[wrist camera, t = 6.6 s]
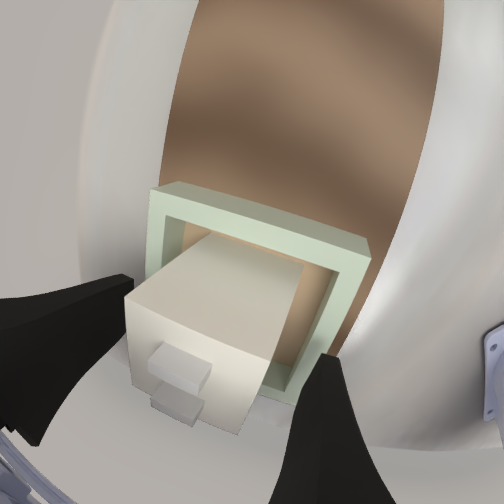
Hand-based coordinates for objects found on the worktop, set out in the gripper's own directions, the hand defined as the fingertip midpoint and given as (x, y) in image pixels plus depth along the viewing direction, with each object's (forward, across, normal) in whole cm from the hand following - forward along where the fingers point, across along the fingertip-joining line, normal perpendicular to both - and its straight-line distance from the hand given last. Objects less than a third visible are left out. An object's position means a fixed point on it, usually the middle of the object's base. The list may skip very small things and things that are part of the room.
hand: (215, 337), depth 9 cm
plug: (+3, 0, 0) cm, 3 cm away
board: (+4, 0, -6) cm, 7 cm away
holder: (+4, 0, 0) cm, 4 cm away
